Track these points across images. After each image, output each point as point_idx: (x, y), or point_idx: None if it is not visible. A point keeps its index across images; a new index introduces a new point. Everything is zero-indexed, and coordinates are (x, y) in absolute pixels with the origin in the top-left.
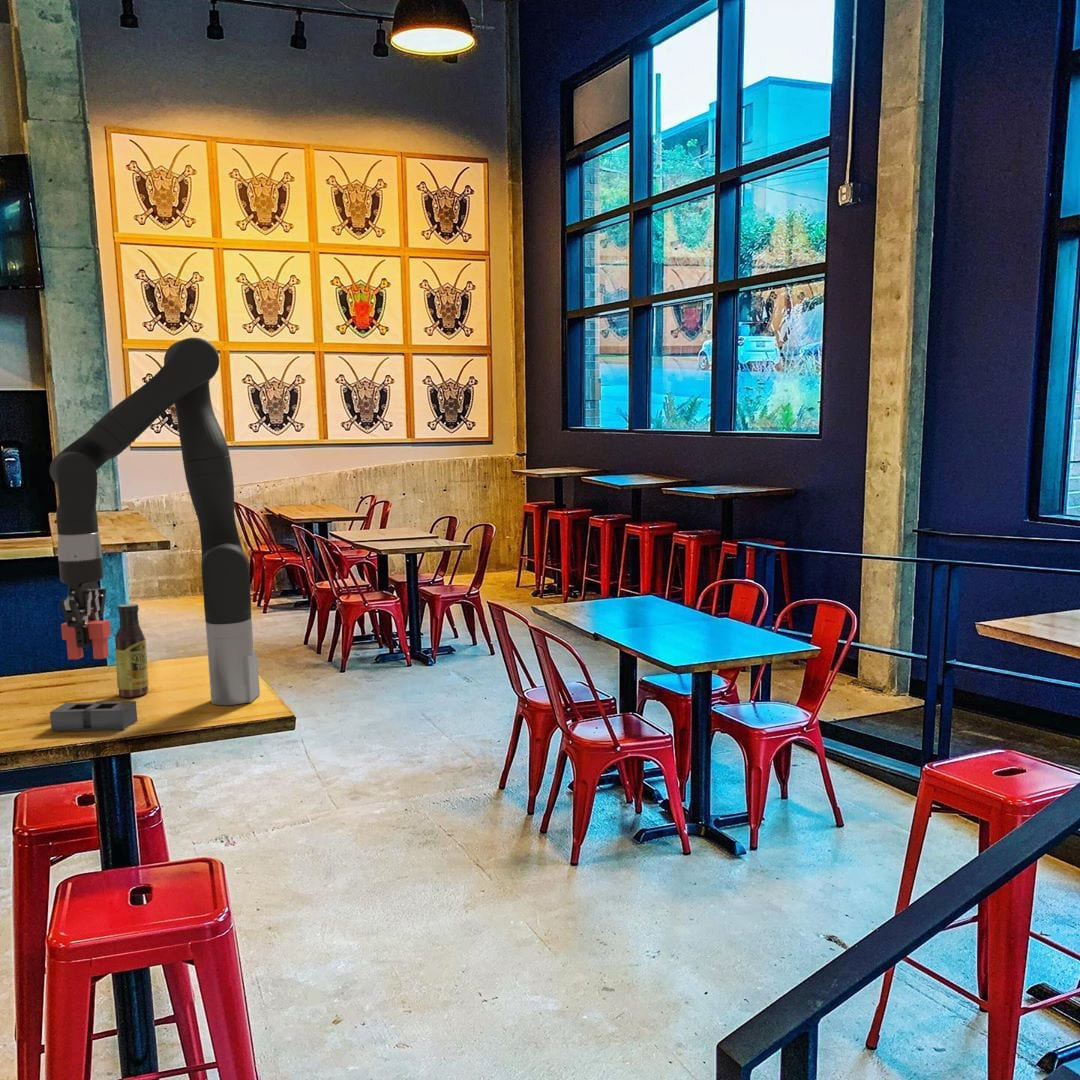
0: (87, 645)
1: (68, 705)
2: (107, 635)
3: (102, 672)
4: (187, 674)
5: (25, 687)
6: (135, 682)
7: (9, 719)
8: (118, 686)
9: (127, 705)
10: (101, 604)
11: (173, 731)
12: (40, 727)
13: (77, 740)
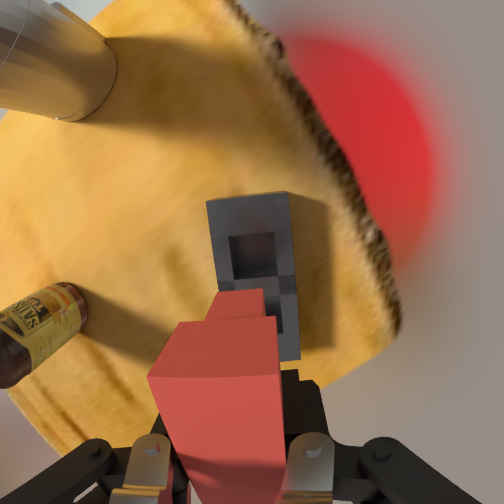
0: (296, 371)
1: None
2: (222, 323)
3: (21, 394)
4: None
5: None
6: (64, 300)
7: None
8: (76, 332)
9: (245, 201)
10: (59, 496)
11: (283, 79)
12: None
13: (347, 256)
